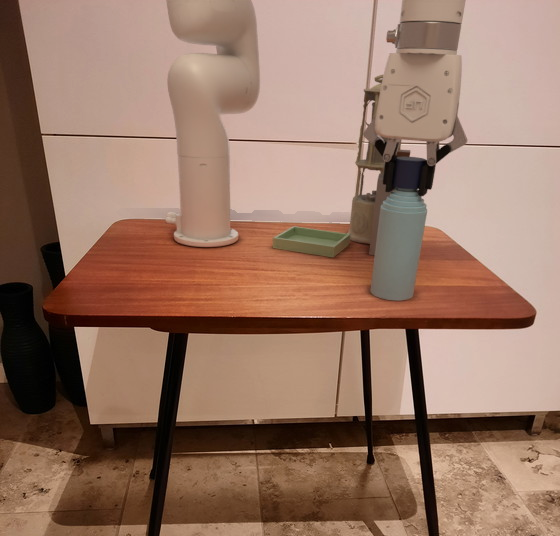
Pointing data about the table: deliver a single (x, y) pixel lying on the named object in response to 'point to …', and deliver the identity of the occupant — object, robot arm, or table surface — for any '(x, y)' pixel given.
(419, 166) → the cap
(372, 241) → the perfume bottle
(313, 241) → the tray
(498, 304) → the table surface
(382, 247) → the bottle
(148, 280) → the table surface
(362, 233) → the lamp
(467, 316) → the table surface
